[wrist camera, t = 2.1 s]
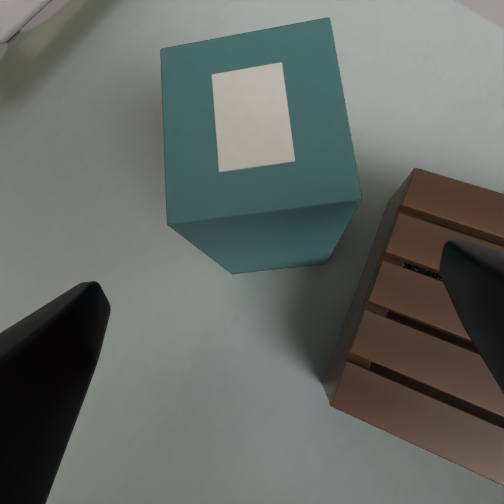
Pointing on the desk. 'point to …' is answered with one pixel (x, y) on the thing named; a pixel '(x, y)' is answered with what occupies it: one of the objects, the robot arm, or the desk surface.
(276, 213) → the tissue box
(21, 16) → the white file holder
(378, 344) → the wooden pallet
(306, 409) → the desk surface
